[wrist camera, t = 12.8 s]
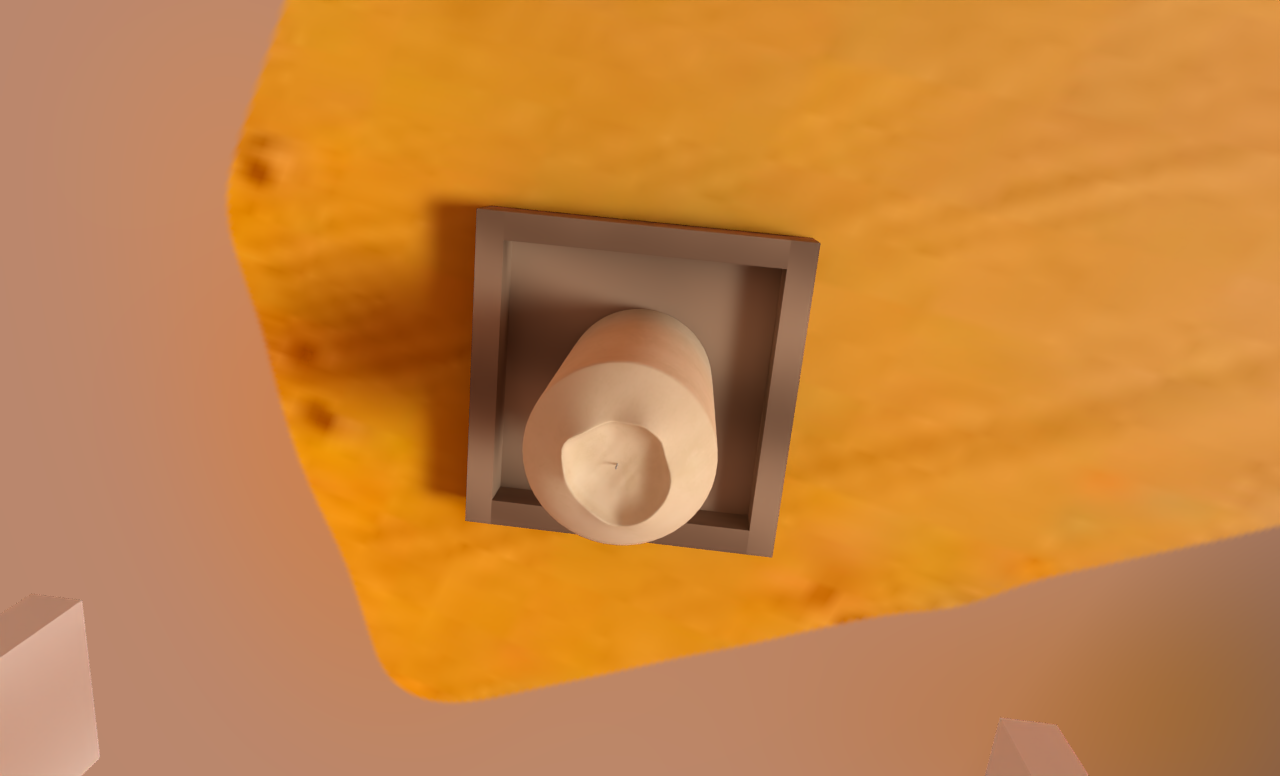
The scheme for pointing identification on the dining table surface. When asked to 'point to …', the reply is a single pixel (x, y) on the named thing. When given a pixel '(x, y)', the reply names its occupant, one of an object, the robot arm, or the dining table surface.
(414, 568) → the dining table surface
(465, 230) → the dining table surface
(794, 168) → the dining table surface
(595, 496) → the candle
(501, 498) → the tray
